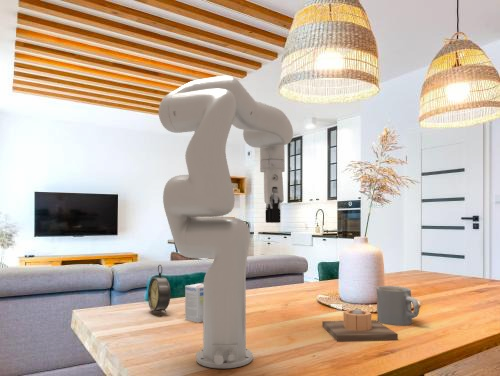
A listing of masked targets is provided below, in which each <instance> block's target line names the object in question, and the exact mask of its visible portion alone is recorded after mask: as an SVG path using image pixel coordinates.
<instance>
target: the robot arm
mask: <svg viewBox="0 0 500 376" xmlns="http://www.w3.org/2000/svg"><path fill="white" fill-rule="evenodd" d="M161 99H162V100H161V101H160V103H159V106H158V117H159V121H160V123H161V125H162V127H163V128H164V129H165V130H166V131H168V132H171V133H176V134H178V133H181V134H182V133H191V132H194V133H193V135H192V137H191V139H190V140H189V142H188V145H187V146H186V150H185V164H186V169H187V172H188V174H179V175H175V176H173V177H171V178H170V179H168V181H167V182H166V183H165V185H164V188H163V193H162V195H163V196H162V203H163V208H164V212H165V216H166V218H167V219H166V220H167V222H168V226H169V230H170V233H171V236H172V238H173V239H172V240H173V242H174V245H175V248H176V250H177V251H178V253H179V254H180V255H181V256H183V257H185V258H188V259H189V258H190V259H208V260H213V261H212V263H211V265H210V267H209V268H208V270H206V273H205V274H204V278H203V283H204V302H203V326H202V327H203V329H202V331H203V332H202V336H203V337H202V340H203V341H202V349H200V350H198V352H197V353H196V354H195V360H196V363H198V364H199V365H200V366H203V367H206V368H211V369H234V368H239V367H242V366H243V367H244V366H245V365H248V364H250V363H251V362H253V358H254V356H253V355H254V354H253V352H252V351H251V350H250V349H248V348H246V347H247V346H246V345H247V343H246V342H247V341H246V339H247V334H246V333H247V328H246V325H247V321H246V319H247V317H246V316H247V310H246V309H247V304H246V303H247V301H246V300H247V297H246V296H247V293H246V292H247V290H246V288H247V287H246V285H247V284H246V278H247V261H248V255H249V247H250V241H251V232H250V231H251V230H250V228H249V225H248V224H247V223H246V222H245V221H244V220H243V219H240V218H237V217H233V216H232V217H231V216H226V215H228V214H230V213H231V212H232V211H233V210H234V207H235V194H234V193H235V192H234V188H233V183H232V179H231V175H230V174H231V173H230V169H229V165H228V159H227V155H226V147H227V143H228V142H227V141H228V138H229V134H230V131H231V127H232V126H233V127H234V128H236V129H239V130H243V131H242V135H243V136H242V137H243V139H244V141H245V143H246V144H247V145H248V146H249V147H252V148H258V149H259V150H260V151H259V152H260V153H259V157H260V158H259V162H260V163H259V165H260V166H259V172H260V173H263V200H264V203H265V223H269V224H270V223H271V224H273V223H274V224H275V223H276V224H280V223H281V205H280V204H283V203H284V200H285V199H284V181H283V179H284V177H283V173H284V172H285V169H286V168H285V165H286V164H285V163H286V162H285V161H286V160H285V146H286V145H288V144H290V143H291V141H292V140H293V136H294V129H293V125H292V123H291V121H290V119H289V118H288V116H287V115H286V113H284V111H282V110H281V109H279V108H277V107H275V106H272V105H269V104H266V103H263V102H261V101H256V100H255V99H254V98H253V96H252V95H251V94H250V93H249V92H248V90H247V89H246V88H245V87H244V85H243V84H242V83H241V82H240V81H239V79H237V78H236V77H234V76H230V75H217V76H212V77H207V78H206V77H205V78H199V79H194V80H191V81H189V82H187V83H185V84H183V85H181V86H180V87H178V88H176V89H175V90H173V91H171V92H169V93H167V94H166V95H165V96H164V97H163V98H161Z"/></svg>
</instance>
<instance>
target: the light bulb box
mask: <svg viewBox="0 0 500 376" xmlns="http://www.w3.org/2000/svg"><path fill="white" fill-rule="evenodd" d="M184 289H185V291H184V293H185V294H184V295H185V298H184V300H185V301H184V303H185V304H184V305H185V307H184V312H185V313H184V317H185V318H184V320H185V321H189V322H194V323H197V324H198V323H199V324H200V323H202V322H203V302H204V282H201V283H199V282H198V283H195V284H194V283H193V284H190V285H189V284H187V285H185V288H184Z"/></svg>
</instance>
